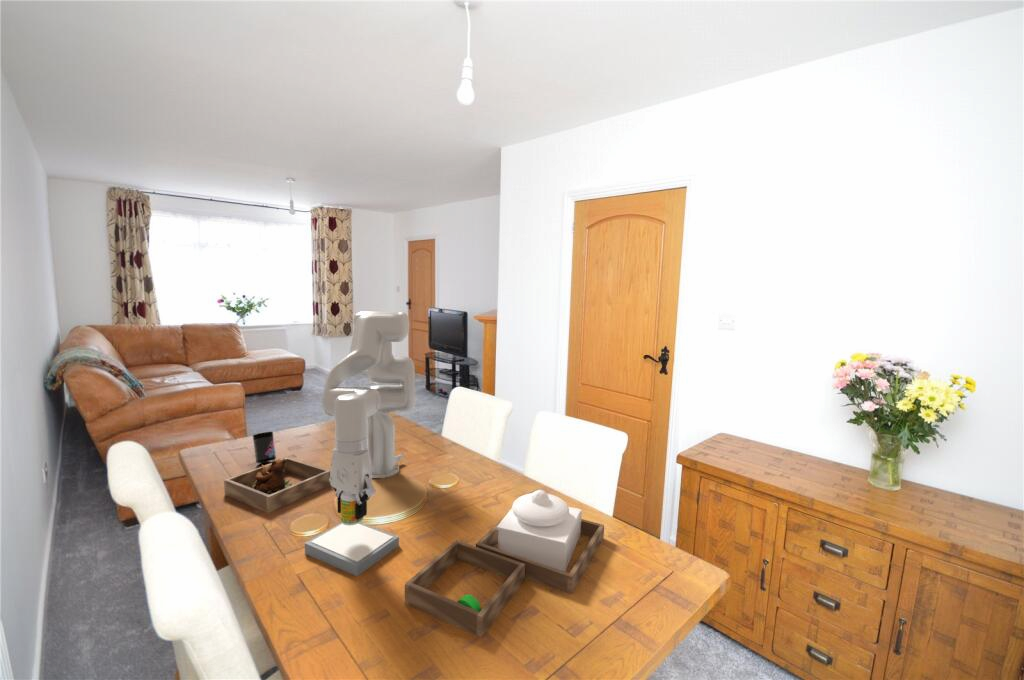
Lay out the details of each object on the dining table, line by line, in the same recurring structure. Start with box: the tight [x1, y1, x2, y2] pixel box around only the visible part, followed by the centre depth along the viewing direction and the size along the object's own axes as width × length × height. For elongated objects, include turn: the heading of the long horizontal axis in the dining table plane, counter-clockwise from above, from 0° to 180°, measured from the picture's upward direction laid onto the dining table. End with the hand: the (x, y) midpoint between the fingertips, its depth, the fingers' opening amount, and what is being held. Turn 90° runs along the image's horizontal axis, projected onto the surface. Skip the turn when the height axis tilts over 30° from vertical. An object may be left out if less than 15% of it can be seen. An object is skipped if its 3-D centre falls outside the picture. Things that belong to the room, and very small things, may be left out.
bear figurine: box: [250, 458, 294, 495], centre depth 143 cm, size 14×15×12 cm
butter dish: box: [497, 489, 583, 572], centre depth 116 cm, size 18×18×16 cm
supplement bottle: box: [340, 491, 364, 525], centre depth 112 cm, size 5×5×10 cm
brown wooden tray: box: [223, 456, 331, 514], centre depth 145 cm, size 22×22×5 cm
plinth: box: [304, 521, 400, 577], centre depth 113 cm, size 14×18×3 cm
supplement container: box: [252, 431, 277, 465], centre depth 165 cm, size 7×7×10 cm
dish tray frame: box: [475, 518, 605, 595], centre depth 115 cm, size 25×25×5 cm
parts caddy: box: [404, 539, 526, 638], centre depth 99 cm, size 19×19×5 cm
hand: (352, 513), depth 112 cm, fingers closed on supplement bottle, 5 cm apart
